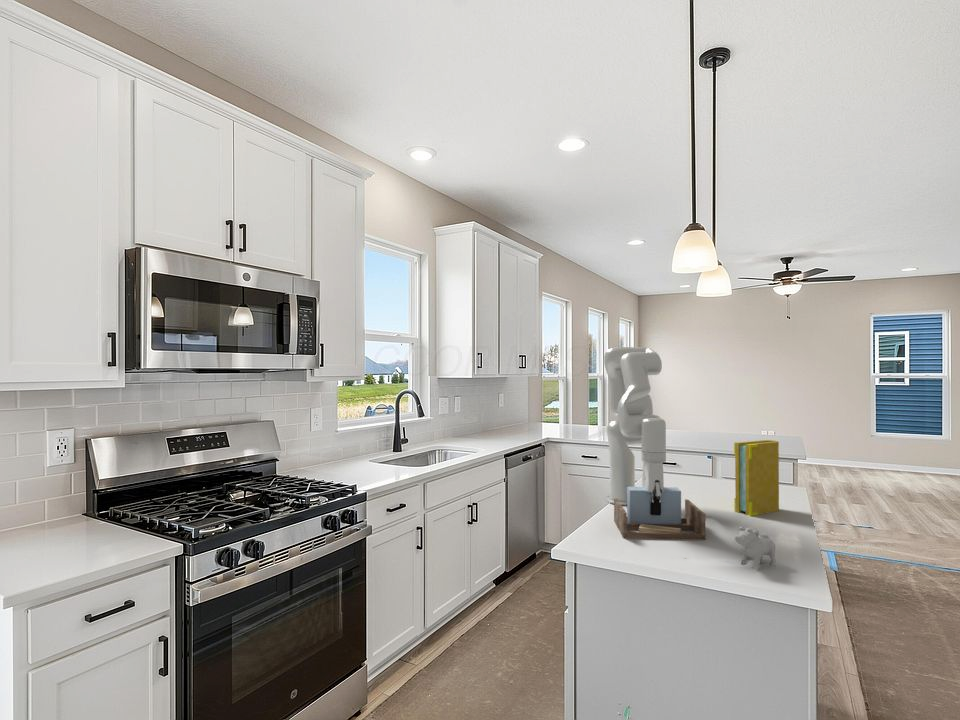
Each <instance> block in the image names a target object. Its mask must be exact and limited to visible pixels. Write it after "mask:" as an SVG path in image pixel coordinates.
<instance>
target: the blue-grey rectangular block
mask: <svg viewBox="0 0 960 720" xmlns="http://www.w3.org/2000/svg"><path fill="white" fill-rule="evenodd" d="M660 490H661V489H660ZM661 491H662V490H661ZM653 493H656V491H653ZM660 493H661V492H660ZM653 496H656V495H653ZM650 502H651V492H650V493H647V492H646V490H645V488H644V487H643V486H635V487H627V505H626V508H627V509H626V513H627V524H681V525H682V523H681V518H682V491H681V490H680V489H679V488H678V487H672V486H671V487H670V486H669V487H668V486H664V488H663V493H662V494H661V515H651V514H650Z"/></svg>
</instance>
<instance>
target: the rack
mask: <svg viewBox="0 0 960 720" xmlns="http://www.w3.org/2000/svg"><path fill="white" fill-rule="evenodd" d="M613 507H614V508H613V518H614V519H613V521H614V524H615V526H616V527H617V529H618V531H619V532H620V535H621V537H622V539H632V540H633V539H635V540H636V539H638V540H639V539H641V540H647V539H648V540H688V541H689V540H691V541H693V540H694V541H697V540H698V541H705V540H706V513H704V511H702V509H700V508H699V507H698V506H697V505H695V503H693V502H692V501H690V500H689V499H686V498H685V499H684V517H681V524H645V525H654V526H663V527H672V528H681V533H654V532H639V526H640V524H628V523H627V510H625V507H624V506H623V505H621V504H620V502H619V500H618V499H617V498H614V504H613ZM628 530H634V531H628ZM682 531H683V532H682ZM684 531H685V532H684ZM686 531H687V532H686ZM691 532H694V533H691Z"/></svg>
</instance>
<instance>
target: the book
mask: <svg viewBox="0 0 960 720" xmlns="http://www.w3.org/2000/svg"><path fill="white" fill-rule="evenodd" d="M779 443H780V442H779V441H778V440H771V439H769V440H768V439H763V440H761V439H760V440H751V441H749V440H748V441H738V442H737V441H736V442H733V448H734V449H733V452H734V453H733V454H734V457H735V458H734V459H735V463H734V465H735V478H734V479H735V481H734V482H735V498H734V512H735V513H738V514H740V512H741V513H745V516H748V515H749V517H754V516H758V515H761V514H763V513H764V514H768V513H776V512H779V511H780V481H779V480H780V478H779V477H780V466H779V465H780V464H779V463H780V462H779V461H780V460H779V459H780V458H779V457H780V455H779V453H780V452H779V450H780V448H779V447H780V446H779ZM764 514H763V515H764ZM753 515H754V516H753Z"/></svg>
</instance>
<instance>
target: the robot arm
mask: <svg viewBox="0 0 960 720" xmlns="http://www.w3.org/2000/svg"><path fill="white" fill-rule="evenodd" d="M603 357H604V358H603V363H604V368H605V372H606V374H607V378H608V383H609V405H610V411H611V414H612V415H614V416H615V417H617V419H615V420H612V421H610V422H609V423H608V424H607V427H606V434H607V441H608V452H609V454H608V455H609V458H608V459H609V460H608V461H609V495H607V496H605V501H606V502H607V503H610V504H612V505H614V498H617V499H618V500H619V502H620V504H621V505H622V506H627V487H636V479H635V478H636V474H635V471H636V470H635V468H636V467H635V464H636V463H635V455H634V453H633V451H632V450H631V449H630V448H629V446H630V445H631V446H632V445H635V446H636V445H641V461H642V462H643V463H642V481H641V482H642V483H641V485H642V486H641V487H644V488H645V490H646V492H647V493H650V492H651V502H650V514H651V515H661V494H662V493H663V488H664V487H665V486H664V482H665V481H664V479H665V478H664V463H666V461H667V456H666V454H667V451H666V450H667V442H666V440H667V436H666V435H667V434H666V432H667V428H666V427H667V424H666V421H665V419H663V418H661V417H660V416H659V415H657V414H653V413H654V412H653V411H654V409H653V401H652V397H651V396H650V394H649V393H650V392H651V385H650V381H649V380H650V379H649V377H648V376H658V375H660V373H661V372H662V368H663V364H662V359H661V357H660V355H659V354H658V353H657V351H655V350H653V349H652V348H649V347H645V346H633V347H632V346H620V347H618V346H617V347H611V348H608V349H607V350H606V351H605V353H604V356H603ZM660 489H661V490H662V491H661V490H660ZM653 491H656V493H653ZM660 492H661V493H660ZM653 495H656V496H653ZM612 502H613V503H612Z"/></svg>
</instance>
